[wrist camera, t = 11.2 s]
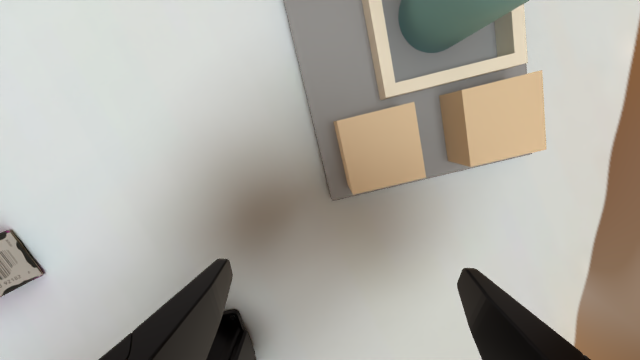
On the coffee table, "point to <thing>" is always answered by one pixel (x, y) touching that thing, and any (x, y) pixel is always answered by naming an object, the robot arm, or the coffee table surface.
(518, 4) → the teal column
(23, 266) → the candy bar box
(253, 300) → the coffee table surface
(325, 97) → the base board
